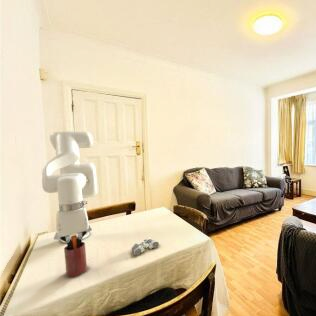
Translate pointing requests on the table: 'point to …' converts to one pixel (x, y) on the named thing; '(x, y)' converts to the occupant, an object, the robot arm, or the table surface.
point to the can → (75, 261)
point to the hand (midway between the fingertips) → (75, 248)
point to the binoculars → (147, 243)
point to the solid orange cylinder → (74, 242)
